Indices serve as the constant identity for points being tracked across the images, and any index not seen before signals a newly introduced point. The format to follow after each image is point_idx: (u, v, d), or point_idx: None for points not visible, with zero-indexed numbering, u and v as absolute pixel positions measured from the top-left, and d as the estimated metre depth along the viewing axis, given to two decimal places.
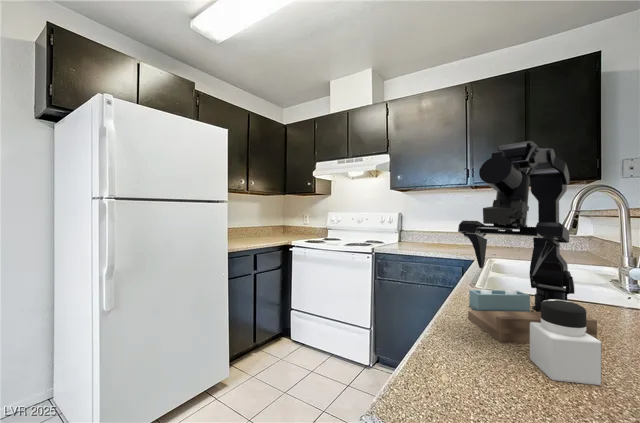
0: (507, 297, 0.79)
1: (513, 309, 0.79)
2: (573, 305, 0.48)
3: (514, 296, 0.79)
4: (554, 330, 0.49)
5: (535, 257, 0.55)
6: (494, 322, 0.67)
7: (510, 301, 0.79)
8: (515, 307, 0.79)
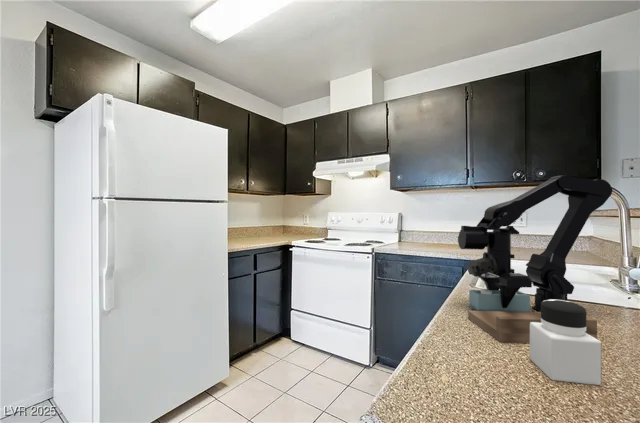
0: None
1: (513, 309, 0.79)
2: (573, 305, 0.48)
3: (514, 296, 0.79)
4: (554, 330, 0.49)
5: (501, 296, 0.78)
6: (494, 322, 0.67)
7: None
8: (515, 307, 0.79)
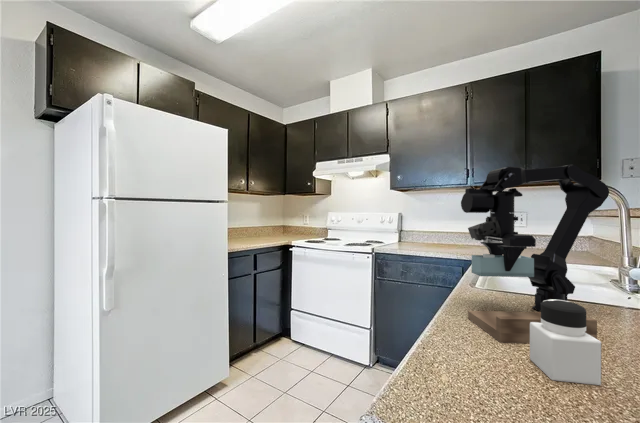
0: None
1: (516, 272, 0.77)
2: (573, 305, 0.48)
3: (518, 259, 0.77)
4: (554, 330, 0.49)
5: (504, 258, 0.76)
6: (494, 322, 0.67)
7: (514, 264, 0.77)
8: (519, 270, 0.77)
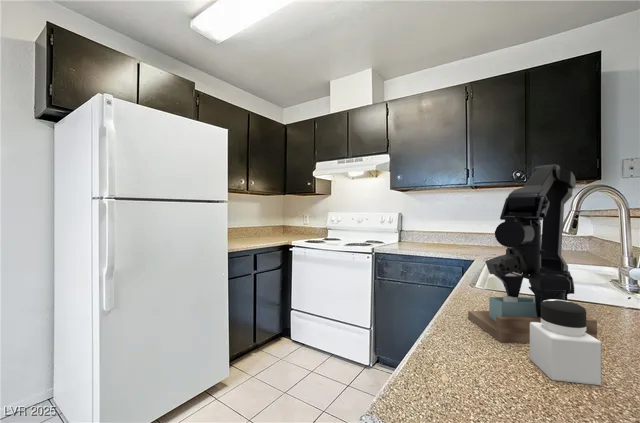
0: None
1: None
2: (573, 305, 0.48)
3: None
4: (554, 330, 0.49)
5: (537, 303, 0.62)
6: (494, 322, 0.67)
7: None
8: None
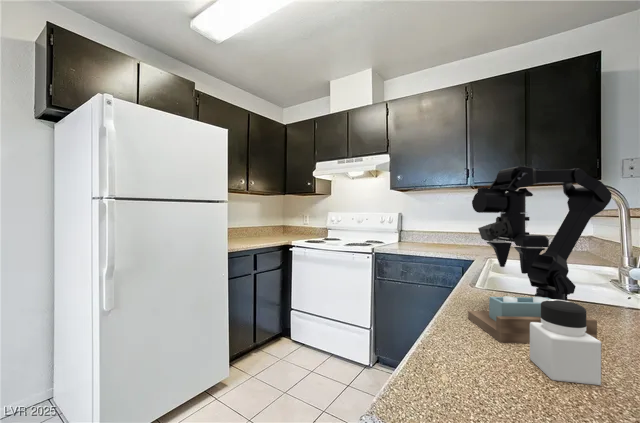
0: (537, 306, 0.65)
1: None
2: (573, 305, 0.48)
3: None
4: (554, 330, 0.49)
5: (521, 260, 0.73)
6: (494, 322, 0.67)
7: None
8: None
